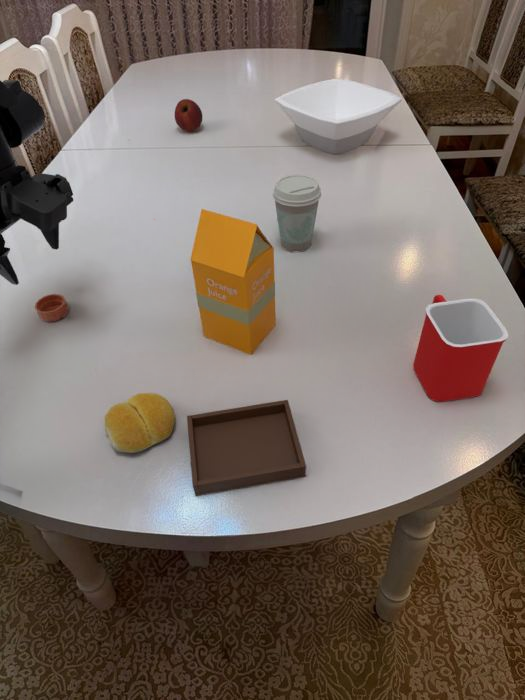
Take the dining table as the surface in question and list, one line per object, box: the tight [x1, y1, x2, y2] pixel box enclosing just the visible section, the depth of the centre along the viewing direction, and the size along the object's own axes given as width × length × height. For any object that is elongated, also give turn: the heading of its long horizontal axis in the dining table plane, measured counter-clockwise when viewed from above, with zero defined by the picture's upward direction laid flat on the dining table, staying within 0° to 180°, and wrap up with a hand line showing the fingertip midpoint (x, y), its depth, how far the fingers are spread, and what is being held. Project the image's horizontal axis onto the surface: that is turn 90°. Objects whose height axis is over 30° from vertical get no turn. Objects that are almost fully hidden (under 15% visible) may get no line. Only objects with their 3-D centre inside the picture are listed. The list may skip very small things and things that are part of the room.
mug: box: [412, 294, 510, 402], centre depth 67 cm, size 12×8×11 cm
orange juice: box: [189, 208, 277, 356], centre depth 71 cm, size 8×9×20 cm
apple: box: [174, 98, 203, 133], centre depth 133 cm, size 7×8×8 cm
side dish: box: [34, 293, 70, 323], centre depth 82 cm, size 5×5×2 cm
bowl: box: [274, 77, 402, 155], centre depth 124 cm, size 24×25×10 cm
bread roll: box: [104, 392, 176, 454], centre depth 64 cm, size 8×9×4 cm
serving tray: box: [186, 399, 307, 497], centre depth 61 cm, size 13×10×2 cm
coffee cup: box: [272, 174, 322, 253], centre depth 90 cm, size 9×8×12 cm
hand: (36, 265), depth 74 cm, fingers open, 9 cm apart
